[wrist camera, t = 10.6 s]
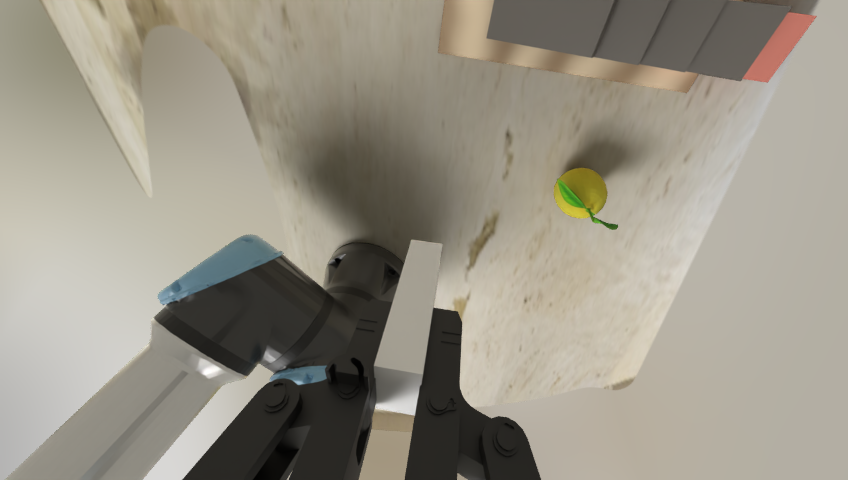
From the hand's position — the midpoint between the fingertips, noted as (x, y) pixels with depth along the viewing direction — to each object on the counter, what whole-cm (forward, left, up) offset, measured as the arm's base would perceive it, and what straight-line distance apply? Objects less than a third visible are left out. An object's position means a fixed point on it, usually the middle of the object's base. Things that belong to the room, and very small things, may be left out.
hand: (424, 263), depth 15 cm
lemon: (+16, -5, -28) cm, 32 cm away
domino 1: (+1, +11, -26) cm, 28 cm away
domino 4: (+14, +11, -26) cm, 31 cm away
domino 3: (+9, +11, -26) cm, 29 cm away
